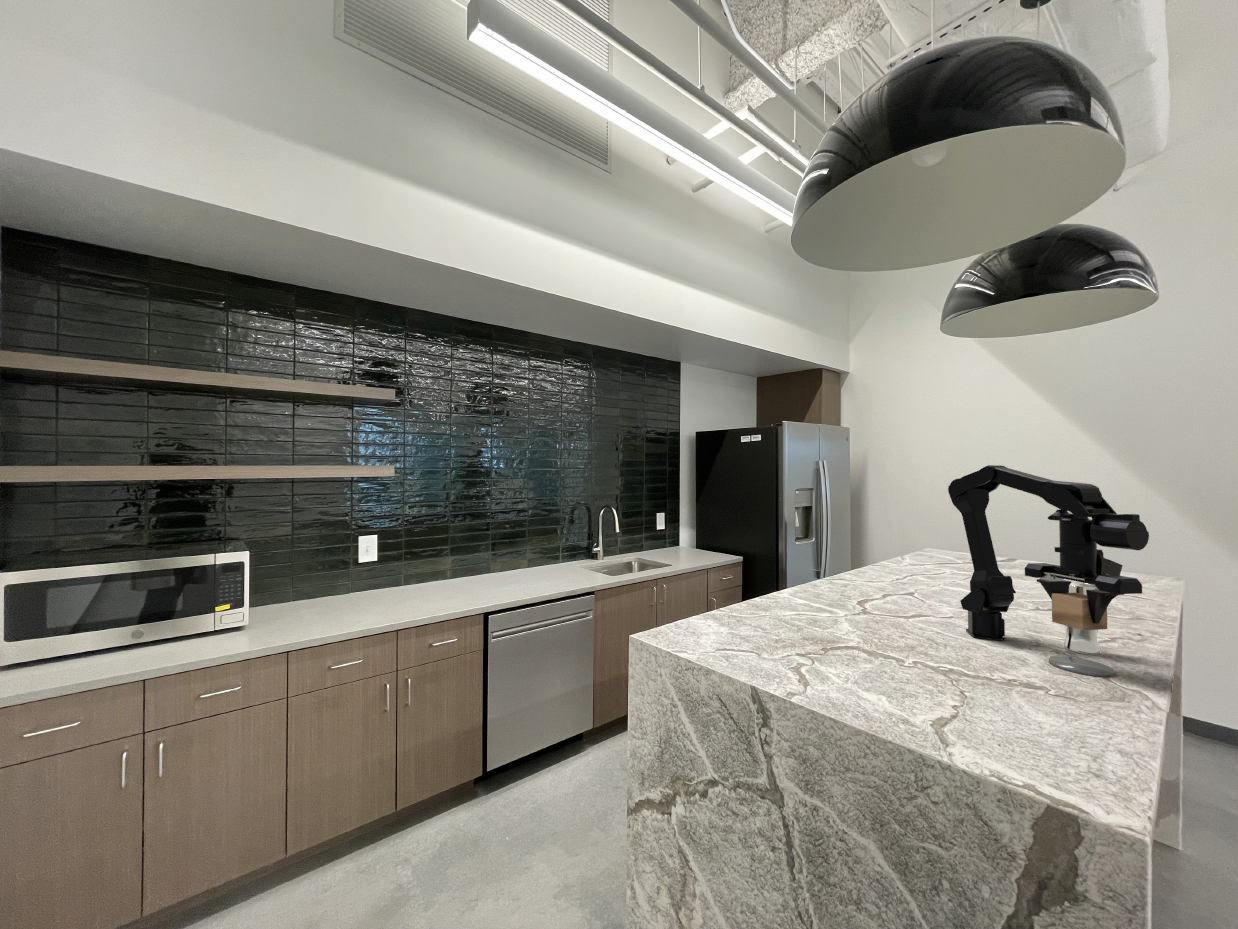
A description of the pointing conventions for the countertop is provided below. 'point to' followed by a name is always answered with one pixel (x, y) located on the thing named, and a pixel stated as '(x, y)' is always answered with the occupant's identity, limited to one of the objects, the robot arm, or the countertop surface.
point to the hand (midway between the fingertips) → (1079, 619)
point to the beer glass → (1081, 638)
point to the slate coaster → (1081, 666)
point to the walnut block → (1074, 612)
